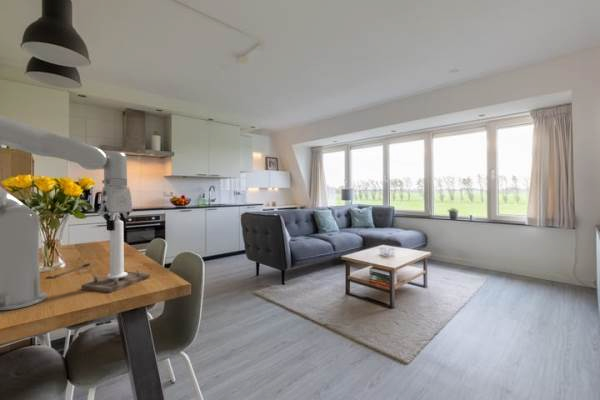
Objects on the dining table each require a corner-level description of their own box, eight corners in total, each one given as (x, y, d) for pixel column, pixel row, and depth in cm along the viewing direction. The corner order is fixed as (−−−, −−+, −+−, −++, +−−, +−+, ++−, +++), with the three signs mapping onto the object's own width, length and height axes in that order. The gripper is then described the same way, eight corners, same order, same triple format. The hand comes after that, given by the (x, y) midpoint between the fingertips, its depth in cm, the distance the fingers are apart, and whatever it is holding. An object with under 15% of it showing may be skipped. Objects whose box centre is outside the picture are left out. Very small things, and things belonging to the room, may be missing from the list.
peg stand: (110, 292, 99) (110, 281, 99) (81, 288, 103) (81, 278, 103) (150, 277, 117) (149, 268, 117) (123, 274, 120) (123, 265, 120)
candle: (107, 280, 105) (106, 214, 104) (105, 275, 110) (104, 213, 109) (129, 276, 109) (128, 213, 108) (126, 272, 115) (125, 212, 114)
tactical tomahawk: (59, 281, 115) (59, 278, 114) (44, 279, 115) (45, 277, 115) (99, 266, 135) (99, 264, 135) (87, 265, 136) (87, 263, 136)
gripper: (102, 182, 99) (103, 233, 100) (141, 183, 116) (141, 227, 116) (86, 182, 101) (88, 232, 102) (126, 184, 118) (127, 226, 118)
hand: (116, 229), depth 109 cm, fingers closed on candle, 4 cm apart
